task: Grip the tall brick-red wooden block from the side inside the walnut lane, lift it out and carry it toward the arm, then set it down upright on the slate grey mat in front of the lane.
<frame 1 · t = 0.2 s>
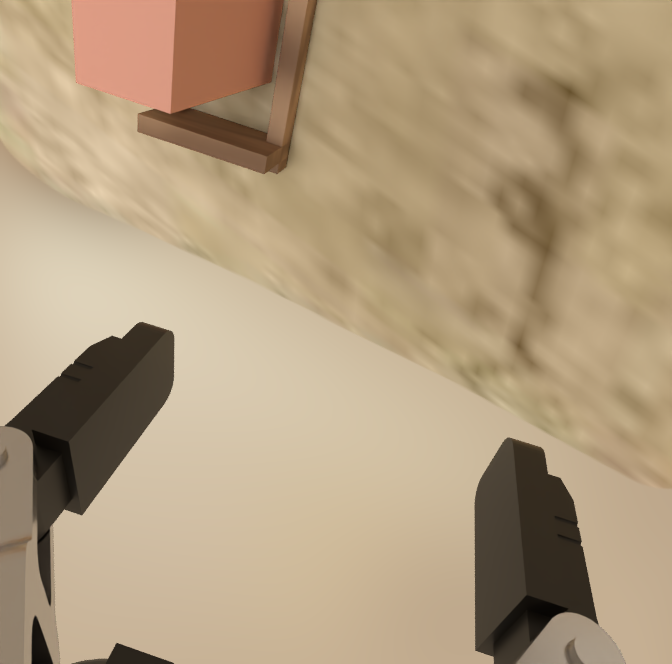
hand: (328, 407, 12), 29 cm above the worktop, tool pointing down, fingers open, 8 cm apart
red block: (243, 32, 34), resting in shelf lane
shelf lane: (242, 32, 34), on the worktop
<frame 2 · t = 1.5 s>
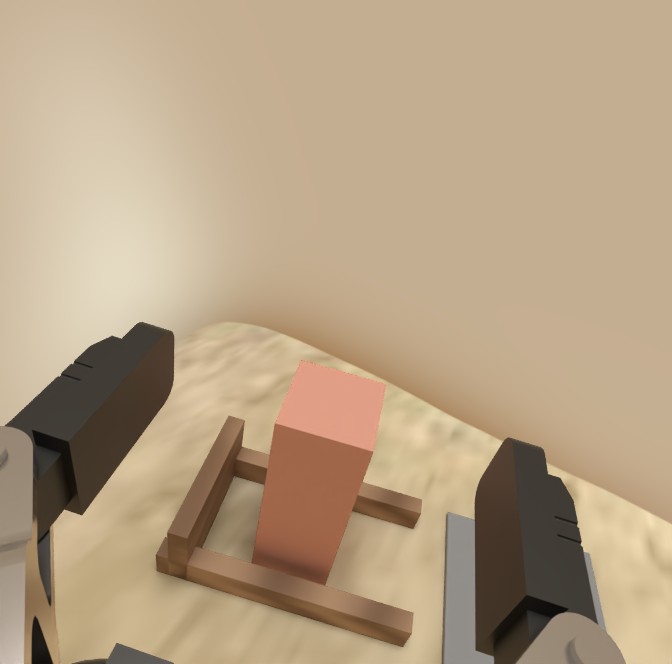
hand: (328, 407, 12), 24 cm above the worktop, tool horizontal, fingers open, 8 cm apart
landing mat: (523, 607, 34), on the worktop
red block: (297, 540, 35), resting in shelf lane
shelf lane: (298, 540, 35), on the worktop
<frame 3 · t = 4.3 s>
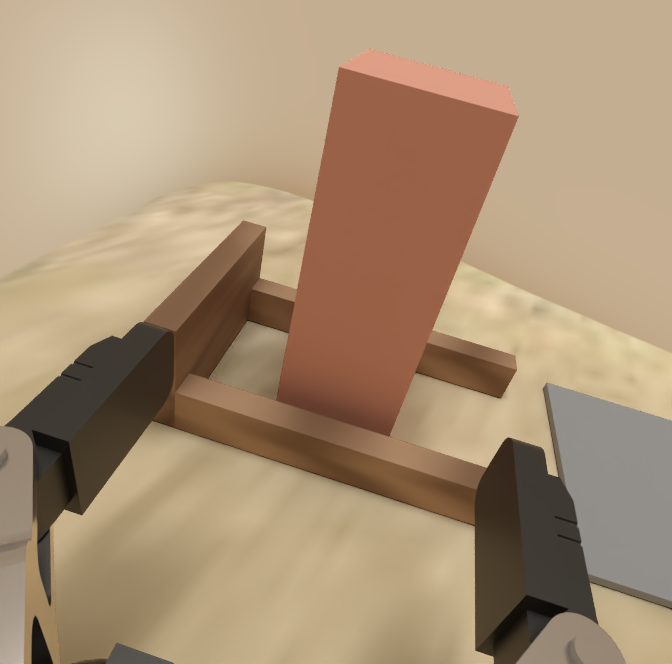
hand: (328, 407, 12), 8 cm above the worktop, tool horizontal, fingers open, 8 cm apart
red block: (339, 396, 24), resting in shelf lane
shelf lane: (340, 395, 24), on the worktop
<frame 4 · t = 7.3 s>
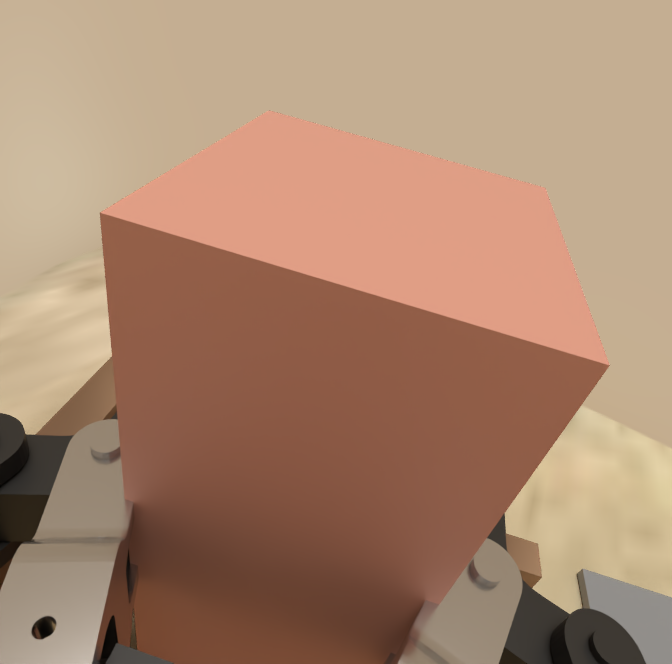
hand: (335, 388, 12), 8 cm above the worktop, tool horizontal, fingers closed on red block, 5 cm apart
red block: (263, 634, 15), resting in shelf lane, touching gripper
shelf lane: (264, 634, 15), on the worktop
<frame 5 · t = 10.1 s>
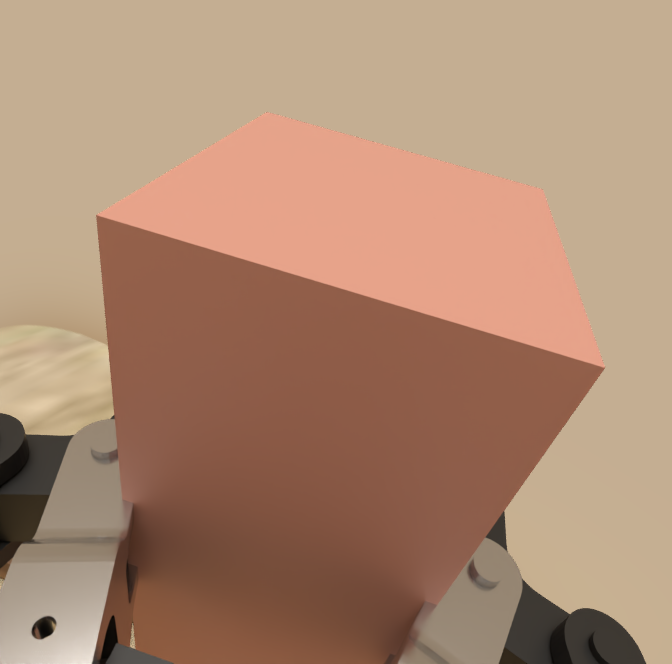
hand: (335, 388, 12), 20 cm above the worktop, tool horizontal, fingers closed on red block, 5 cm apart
red block: (262, 635, 15), point 12 cm above the worktop, touching gripper
when the fingers open (10 cm above the worktop, at t = 12.9 s): red block drops 1 cm, resting on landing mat.
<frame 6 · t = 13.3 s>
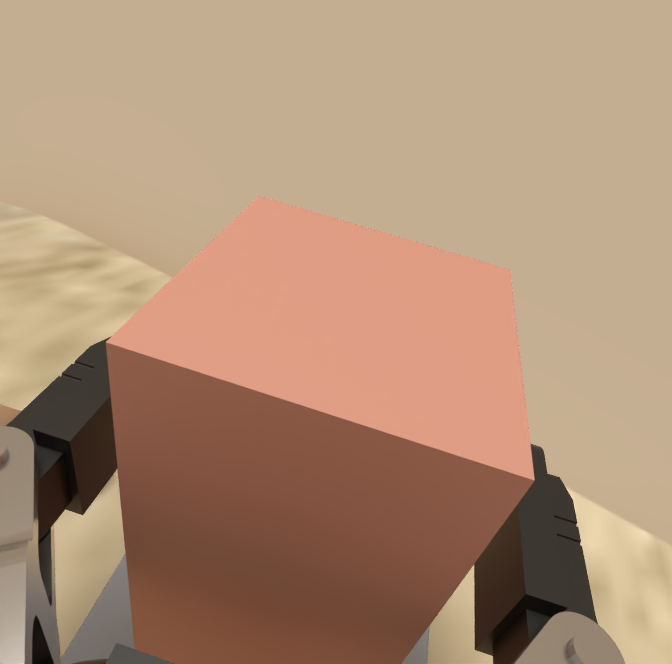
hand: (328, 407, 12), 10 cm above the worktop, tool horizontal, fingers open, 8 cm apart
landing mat: (255, 660, 16), on the worktop
red block: (257, 659, 16), resting on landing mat
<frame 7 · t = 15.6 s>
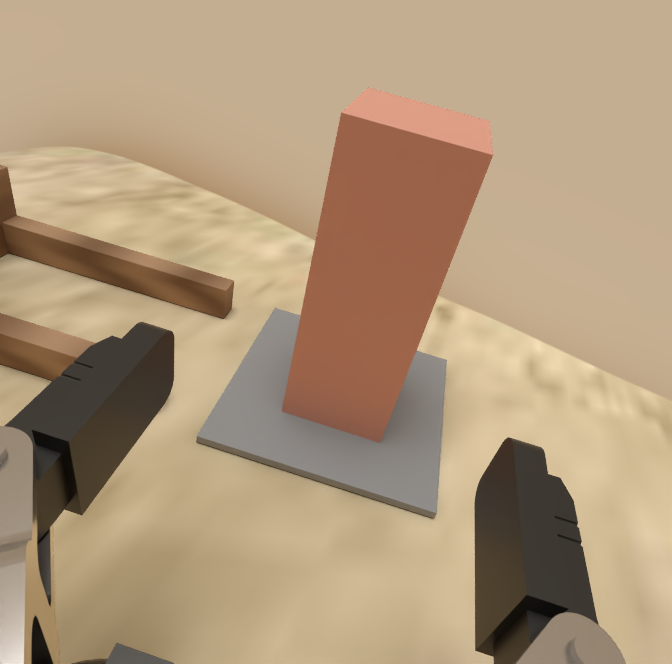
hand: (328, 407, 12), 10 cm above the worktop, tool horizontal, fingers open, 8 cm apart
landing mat: (339, 397, 26), on the worktop
red block: (341, 393, 26), resting on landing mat
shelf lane: (61, 310, 27), on the worktop
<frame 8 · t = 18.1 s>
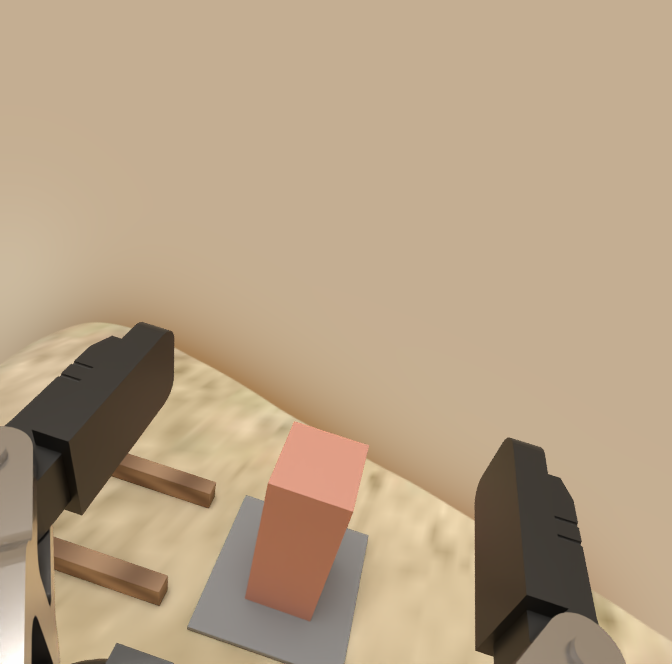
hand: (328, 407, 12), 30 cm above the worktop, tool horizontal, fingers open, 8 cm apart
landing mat: (286, 578, 38), on the worktop
red block: (287, 577, 38), resting on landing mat
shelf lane: (94, 513, 39), on the worktop
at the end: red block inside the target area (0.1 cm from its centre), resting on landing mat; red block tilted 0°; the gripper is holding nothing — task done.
